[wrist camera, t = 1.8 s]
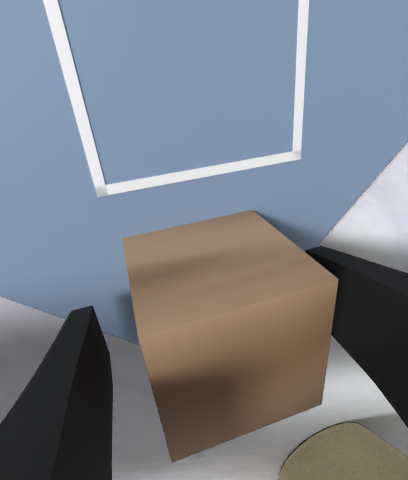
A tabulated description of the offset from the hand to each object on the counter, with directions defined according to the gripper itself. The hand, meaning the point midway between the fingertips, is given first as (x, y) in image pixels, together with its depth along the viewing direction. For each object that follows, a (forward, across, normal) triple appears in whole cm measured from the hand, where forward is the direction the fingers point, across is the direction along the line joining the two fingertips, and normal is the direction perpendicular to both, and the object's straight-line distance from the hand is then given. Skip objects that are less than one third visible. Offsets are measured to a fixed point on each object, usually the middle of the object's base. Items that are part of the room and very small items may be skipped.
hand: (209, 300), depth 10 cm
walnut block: (+1, 0, 0) cm, 1 cm away
